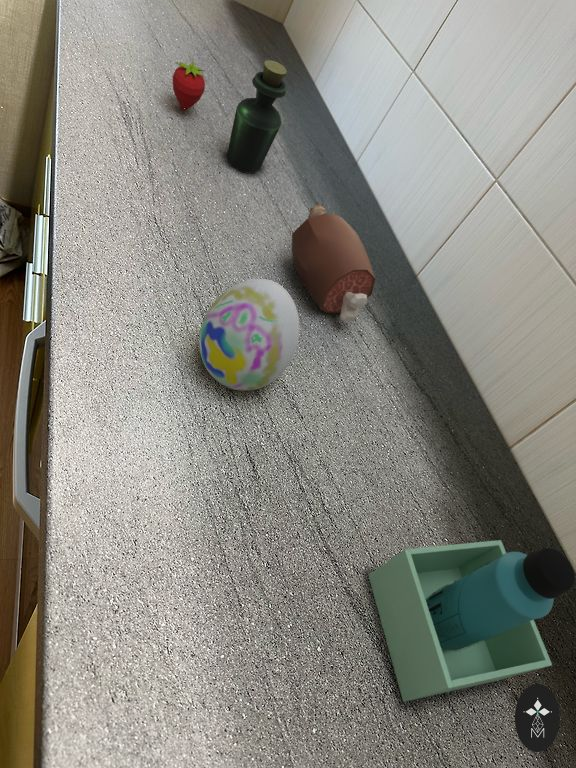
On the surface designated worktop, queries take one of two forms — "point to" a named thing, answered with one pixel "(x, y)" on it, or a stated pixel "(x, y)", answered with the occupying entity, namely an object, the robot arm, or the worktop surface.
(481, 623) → the beverage bottle
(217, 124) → the worktop surface
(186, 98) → the strawberry
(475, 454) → the worktop surface
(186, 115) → the worktop surface
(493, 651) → the bin
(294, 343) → the decorative egg
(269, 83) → the potion bottle
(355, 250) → the meat
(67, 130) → the worktop surface
